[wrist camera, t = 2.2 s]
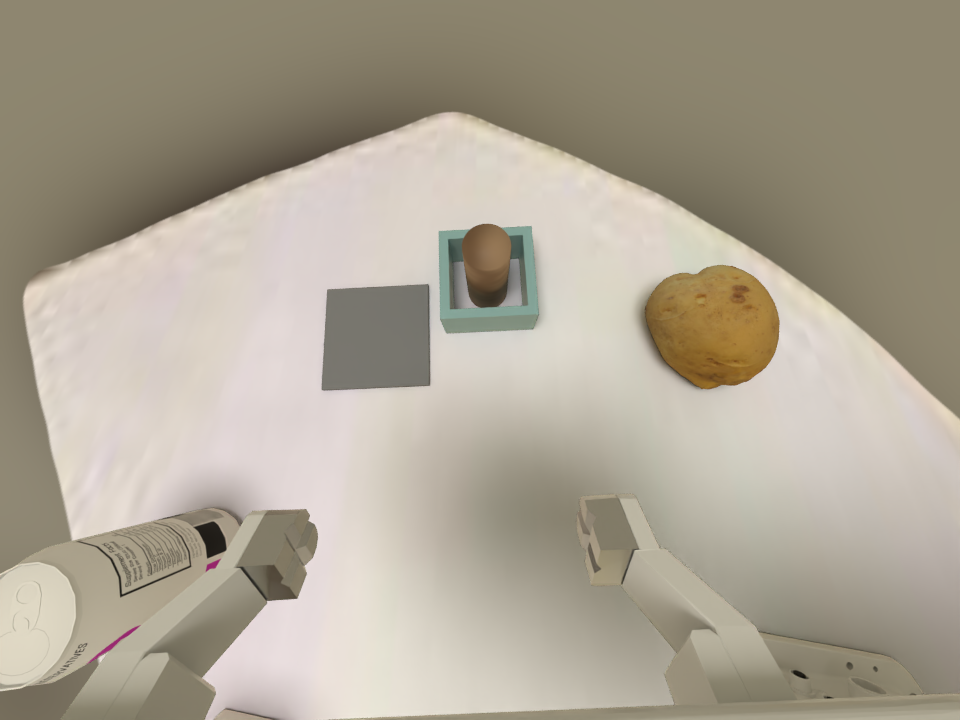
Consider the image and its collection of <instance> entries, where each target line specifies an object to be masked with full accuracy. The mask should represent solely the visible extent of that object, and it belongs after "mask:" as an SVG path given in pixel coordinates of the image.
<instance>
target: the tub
mask: <svg viewBox="0 0 960 720" xmlns="http://www.w3.org/2000/svg"><path fill="white" fill-rule="evenodd" d="M502 229H503V230H504V231H505V232H506V233H507V234H508V236H509V238H510V240H511V255H510V259H517V258H519V264H520V278H521V292H522V305H523V306H508V307H488V308H468V309H454V279H453V262H460V261H464V260H463V253H462V241H463V238H464V236H465V235H466V233H467V232H468V231H469V230H452V231H439V276H440V320H441V322H442V324H443V327H444V329H445V331H446V333H466V332H486V331H507V330H527V329H533V328H534V325H535V323H536V320H537V317H538V315H539V311H538V299H537V287H536V275H535V263H534V251H533V239H532V226H525V227H506V228H502Z"/></svg>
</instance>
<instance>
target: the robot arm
mask: <svg viewBox="0 0 960 720" xmlns="http://www.w3.org/2000/svg"><path fill="white" fill-rule="evenodd" d="M579 506H580V509H581V510H580V511H579V512H578V513H577V519H576V522H577V533H578V538H579V542H580V546H581V547H582V548H583V549H584V550H585V551H586V557H585V564H586V568H587V572H588V575H589V579H590V583H591V586H607V585H622V588H623V589H624V591H625V592H626V593H627V594H628V595H629V596H630V598H631V599H632V600H633V601H634V602H635V604H636V605H637V606H638V607H639V608H640V610H641V611H642V612H643V613H644V614H645V616H646V617H647V618H648V619H649V620H650V622H651V623H652V624H653V625H654V626H655V628H656V629H657V630H658V631H659V632H660V633H661V635H662V636H663V637H664V638H665V639H666V641H667V642H668V643H669V644H670V645H671V647H672V648H673V649H674V650H675V651H676V653H677V654H676V656H675V657H674V659H673V660H672V662H671V663H670V665H669V666H668V668H667V670H666V672H665V674H664V675H665V678H666V681H667V683H668V686H669V689H670V692H671V695H672V698H673V701H674V704H675V705H664V706H640V707H616V708H592V709H569V710H545V711H521V712H497V713H473V714H449V715H425V716H402V717H378V718H354V719H330V720H960V693H958V694H926V695H924V693H923V691H922V690H921V688H920V687H919V685H918V684H917V682H916V681H915V679H914V678H913V677H912V676H911V674H910V673H909V672H908V671H907V670H906V669H905V667H904V666H903V665H901V664H900V663H898V662H897V661H895V660H894V659H892V658H891V657H888V656H885V655H880V654H875V653H870V652H865V651H859V650H854V649H848V648H843V647H837V646H832V645H826V644H821V643H815V642H810V641H804V640H799V639H793V638H788V637H783V636H777V635H772V634H766V633H761V632H758V630H757V629H756V627H755V626H754V625H753V624H752V623H751V622H750V621H749V620H747V619H746V618H745V617H744V616H743V615H742V614H740V613H739V612H738V611H737V610H736V609H735V608H734V607H732V606H731V605H730V604H729V603H728V602H727V601H725V600H724V599H723V598H722V597H721V596H720V595H718V594H717V593H716V592H715V591H714V590H713V589H712V588H710V587H709V586H708V585H707V584H706V583H705V582H703V581H702V580H701V579H700V578H699V577H698V576H696V575H695V574H694V573H693V572H692V571H691V570H690V569H688V568H687V567H686V566H685V565H684V564H683V563H681V562H680V561H679V560H678V559H677V558H676V557H674V556H673V555H672V554H671V553H670V552H669V551H668V550H666V549H660V548H659V545H658V543H657V541H656V539H655V537H654V535H653V532H652V530H651V528H650V526H649V524H648V522H647V520H646V517H645V515H644V513H643V511H642V509H641V507H640V504H639V502H638V500H637V498H636V497H635V496H634V495H633V494H616V495H614V494H607V495H591V496H581V497H580V500H579ZM309 517H310V515H309V513H308V511H307V510H306V509H295V510H262V511H252V512H251V513H250V514H249V515H247V517H246V518H245V520H244V521H243V523H242V525H241V526H240V528H239V530H238V531H237V533H236V535H235V536H234V538H233V540H232V541H231V543H230V545H229V546H228V548H227V550H226V551H225V553H224V555H223V556H222V558H221V560H220V561H219V563H218V565H217V567H216V568H215V569H209V570H208V571H207V572H206V573H204V574H203V575H202V576H201V577H200V578H198V579H197V580H196V581H195V582H193V583H192V584H191V585H190V586H189V587H187V588H186V589H185V590H184V591H182V592H181V593H180V594H179V595H178V596H176V597H175V598H174V599H173V600H171V601H170V602H169V603H168V604H167V605H165V606H164V607H163V608H162V609H161V610H159V611H158V612H157V613H156V614H154V615H153V616H152V617H151V618H150V619H148V620H147V621H146V622H145V623H143V624H142V625H141V626H140V627H139V628H137V629H136V630H135V631H134V632H132V633H131V634H130V635H129V636H128V637H126V638H125V639H124V640H123V641H121V642H120V643H119V644H118V645H117V646H115V647H114V648H113V649H112V650H110V651H109V652H108V653H107V654H106V656H105V657H104V659H103V660H102V661H101V663H100V664H99V666H98V667H97V669H96V670H95V671H94V673H93V674H92V676H91V677H90V678H89V680H88V682H87V683H86V684H85V685H84V687H83V688H82V690H81V691H80V692H79V694H78V695H77V697H76V698H75V700H74V701H73V702H72V704H71V705H70V707H69V708H68V710H67V711H66V712H65V714H64V715H63V717H62V718H61V719H60V720H204V719H205V717H206V715H207V713H208V710H209V708H210V706H211V704H212V701H213V699H214V697H215V695H216V692H215V688H214V687H213V686H212V685H210V684H209V683H208V682H206V681H205V680H204V679H202V677H203V676H204V675H205V674H206V673H207V671H208V670H209V669H210V668H211V667H212V666H213V665H214V663H215V662H216V661H217V660H218V659H219V658H220V656H221V655H222V654H223V653H224V652H225V651H226V650H227V648H228V647H229V646H230V645H231V644H232V643H233V642H234V640H235V639H236V638H237V637H238V636H239V635H240V634H241V632H242V631H243V630H244V629H245V628H246V627H247V626H248V624H249V623H250V622H251V621H252V620H253V619H254V618H255V616H256V615H257V614H258V613H259V612H260V611H261V610H262V608H263V607H264V606H265V605H266V604H267V601H272V600H286V599H297V598H298V596H299V593H300V591H301V588H302V585H303V583H304V580H305V577H306V575H307V572H306V569H305V565H306V564H307V563H308V562H309V561H310V560H311V559H312V558H313V556H314V553H315V550H316V548H317V541H318V533H317V529H316V526H315V525H314V524H313V523H311V522H309V521H308V520H309Z"/></svg>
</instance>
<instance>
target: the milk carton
mask: <svg viewBox="0 0 960 720" xmlns="http://www.w3.org/2000/svg"><path fill="white" fill-rule="evenodd" d="M214 720H272V719H267V718H263V717H258V716H254V715H249V714H245V713H240V712H236V711H231V710H226V709H225V710H223V711H222V712H221V713H220V714H219V715H218V716H217V717H216V718H215V719H214Z"/></svg>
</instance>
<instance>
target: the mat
mask: <svg viewBox="0 0 960 720" xmlns="http://www.w3.org/2000/svg"><path fill="white" fill-rule="evenodd" d="M411 386H430V372H429V286H428V284H425V285H406V286H386V287H367V288H348V289H328V290H327V304H326V322H325V339H324V356H323V374H322V390H345V389H367V388H389V387H411Z"/></svg>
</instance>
